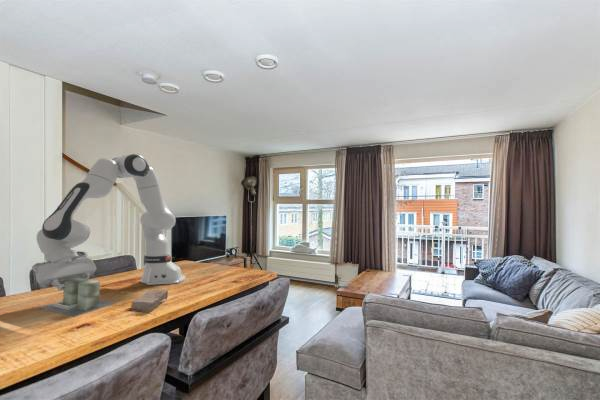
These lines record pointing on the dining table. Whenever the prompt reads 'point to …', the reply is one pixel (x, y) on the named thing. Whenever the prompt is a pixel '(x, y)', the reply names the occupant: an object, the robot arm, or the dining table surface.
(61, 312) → the base board
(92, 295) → the column
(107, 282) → the dining table surface
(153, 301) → the brick
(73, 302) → the column
